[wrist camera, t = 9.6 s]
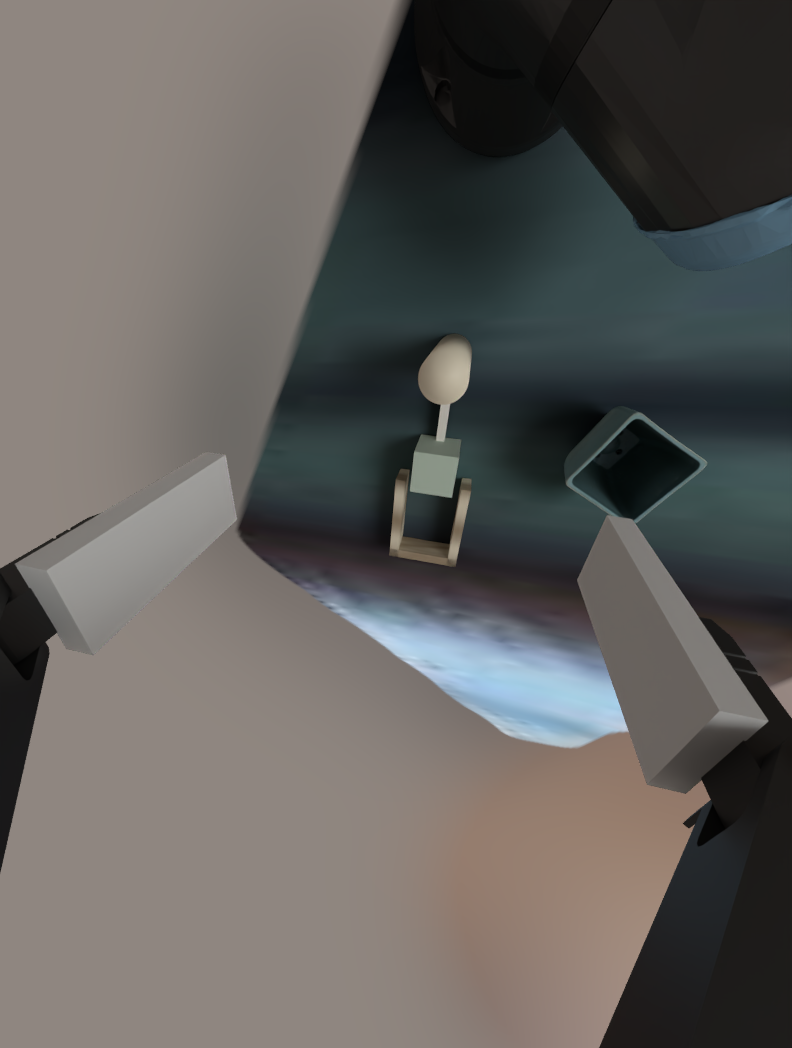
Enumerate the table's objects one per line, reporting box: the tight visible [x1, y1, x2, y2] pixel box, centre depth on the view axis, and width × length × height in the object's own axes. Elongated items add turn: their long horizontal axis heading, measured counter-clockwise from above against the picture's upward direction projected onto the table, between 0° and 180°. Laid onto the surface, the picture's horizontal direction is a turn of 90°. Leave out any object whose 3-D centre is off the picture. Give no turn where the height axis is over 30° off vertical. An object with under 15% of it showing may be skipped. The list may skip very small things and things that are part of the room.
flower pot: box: [564, 406, 707, 523], centre depth 39 cm, size 9×9×9 cm
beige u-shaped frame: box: [389, 469, 471, 567], centre depth 51 cm, size 12×9×4 cm
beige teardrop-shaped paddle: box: [410, 334, 472, 498], centre depth 38 cm, size 16×5×14 cm, turn 176°
